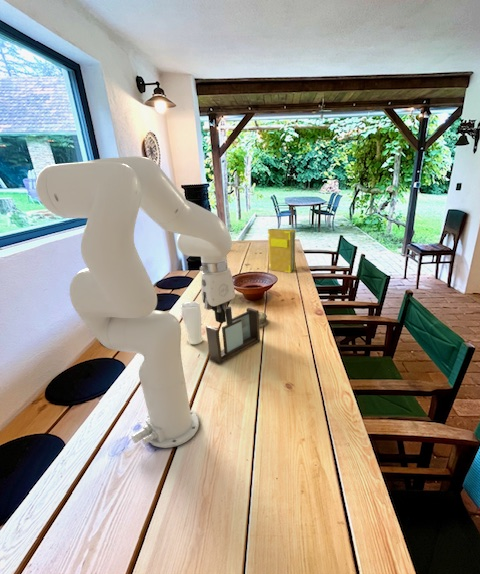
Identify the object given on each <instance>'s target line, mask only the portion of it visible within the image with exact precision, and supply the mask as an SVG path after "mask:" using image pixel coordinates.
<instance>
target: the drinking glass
mask: <svg viewBox="0 0 480 574" xmlns="http://www.w3.org/2000/svg"><path fill="white" fill-rule="evenodd" d="M180 312H181V317H182V321H183V326H184V329H185V333H186V337H187V342H188V344H190V345H199V344H201V343H202V342H203V329H202V310H201V305H200V303H199V302H197V301H188V302H184V303H182V304H181V305H180Z"/></svg>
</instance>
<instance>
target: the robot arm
mask: <svg viewBox="0 0 480 574" xmlns="http://www.w3.org/2000/svg"><path fill="white" fill-rule="evenodd" d="M35 189H36V194H37V197H38V199H39V201H40V202H41V204H42V205H43V207H44V208H45V209H46V210H47V211H48V212H50V213H51V214H53V215H56V216H58V217H61V218H65V219H87V220H86V224H85V227H84V231H83V234H82V237H81V243H80V253H81V258H82V260H83V262H84V264H85V266H86V268H84V269H82V270H79V271H78V272H77V273H76V274H75V275H74V276H73V277H72V279H71V282H70V284H69V298H70V302H71V305H72V307H73V309H74V311H75V312H76V313H77V315H78V316H79V317H80V320H82V322H83V323H84V324H85V325H86V327H87V328H88V330H89V331H90V332H91V334H93V336H94V337H95V339H96V340H97V341H98V342H99V343H100V344H101V345H102V346H103V347H105V348H106V349H109V350H111V351H114V352H115V351H117V352H122V353H123V352H124V353H131V354H139V355H142V356H143V360H142V363H141V364H140V367H139V368H138V375H139V376H138V377H139V381H140V385H141V389H142V390H141V391H142V394H143V398H144V402H145V406H146V409H147V414H148V419H146V420H145V423H146V424H145V426H143V429H141V430H140V431H137V432H135V433H134V434H132V435H131V440H132V441H133V443H134V444H136V443H139V442H140V441H142V443H143V444H144V445H147V444H149V443H150V444H151V445H152V446H155V447H157V448H162V449H163V448H164V449H168V448H175V447H178V446H180V445H182V444H184V443H187V442H188V441H189V440H190V439H192V438H193V437H194V436H195V434H196V433H197V432H198V430H199V426H200V421H199V416H198V415H197V414H196V413H195V412H194V411H192V410H191V407H190V401H189V395H188V390H187V385H186V378H185V373H184V366H183V359H182V346H181V345H182V327H181V323H180V321H179V319H178V318H177V317H176V316H175V315H174V314H172V313H170V312H168V311H163V310H157V309H156V308H157V305H158V296H157V295H158V294H157V291H156V289H155V286H154V284H153V282H152V280H151V278H150V276H149V273H148V272H147V270H146V267H145V266H144V263H143V262H142V260H141V257H140V255H139V253H138V250H137V248H136V244H135V228H136V223H137V218H138V214H139V212H140V211H139V210H141V211H142V212H143V213H144V214H146V215H147V216H148V217H149V218H150V219H151V220H152V221H153V222H154V223H155V224H157V225H158V226H159V227H160V228H161V229H163V230H165V231H168V232H171V233H174V234H177V240H176V245H177V248H178V250H179V251H180V253H182V255H185V256H187V257H188V256H189V257H200V261H201V266H199V271H200V272H201V276H200V290H201V291H200V293H201V300H202V303H203V304H204V309H205V310H207V311H210V310H212V311H213V312H214V318H215V322H218V323H220V324H224V323H226V313H225V310H226V309H227V307H228V304H229V303H230V302H231V301H233V299H234V298H235V296H236V292H235V291H236V290H235V285H234V278H233V275H232V272H231V269H230V268H229V267H228V259H227V255H228V254H229V253H230V252H231V249H232V246H233V245H232V244H233V241H232V236H231V233H230V232H229V231H230V230H229V229H228V227H227V226H226V224H225V223H224V221H223V220H222V219H221V218H220V217H219V216H218V215H217V214H215V213H214V212H212V211H210V210H208V209H206V208H204V207H202V206H200V205H198V204H196V203H195V202H192V201H189V200H187V199H186V197H184V195H183V193H181V191H180V190H179V189H178V188H177V186H175V184H174V183H173V182H172V180H171V179H170V178H169V177H168V175H167V173H165V171H164V170H163V169H162V168H161V166H160V165H158V163H157V162H156V161H154V160H153V159H151V158H149V157H146V156H136V155H135V156H122V157H121V156H119V157H106V158H105V157H104V158H98V159H92V160H85V161H75V162H66V163H57V164H51V165H50V164H49V165H47V166H45V167H44V168H43V169H42V170H41V171H40V172H39V173H38V175H37V178H36V180H35Z"/></svg>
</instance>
